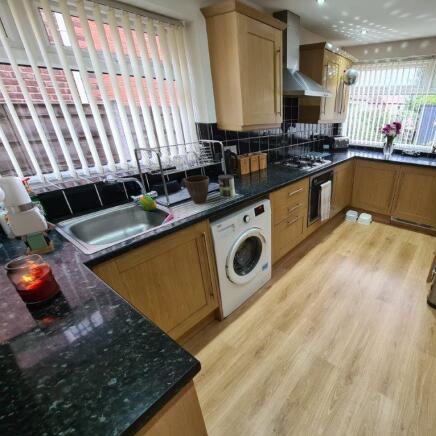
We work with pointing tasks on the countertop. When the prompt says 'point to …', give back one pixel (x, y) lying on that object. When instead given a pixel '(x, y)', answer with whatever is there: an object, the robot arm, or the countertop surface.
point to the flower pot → (197, 188)
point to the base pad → (41, 251)
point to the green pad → (36, 241)
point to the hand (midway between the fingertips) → (40, 245)
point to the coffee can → (226, 186)
